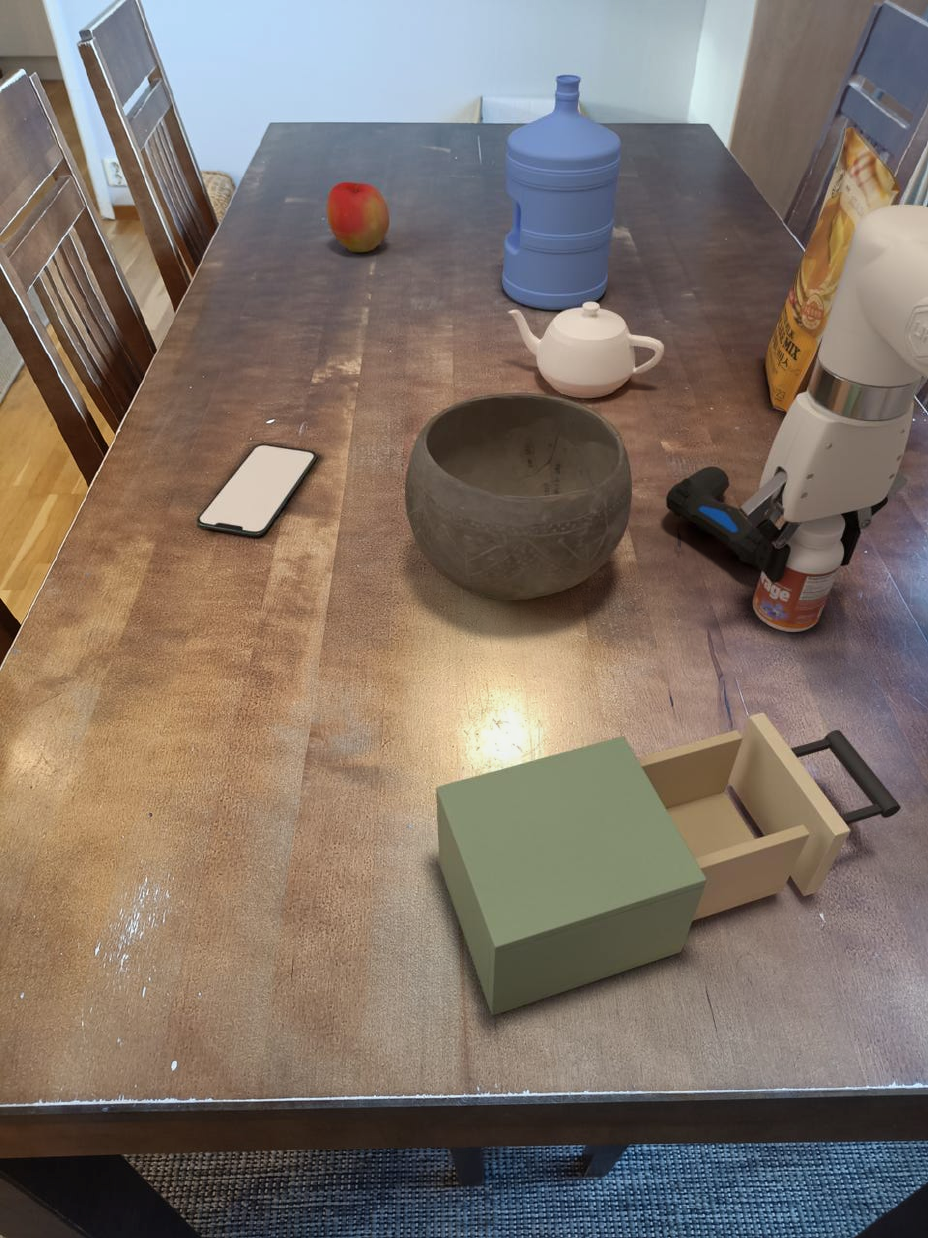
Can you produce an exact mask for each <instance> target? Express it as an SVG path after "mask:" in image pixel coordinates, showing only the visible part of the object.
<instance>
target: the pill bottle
mask: <svg viewBox="0 0 928 1238" xmlns="http://www.w3.org/2000/svg"><path fill="white" fill-rule="evenodd" d="M778 528H779V530H780V528H781V527H778ZM844 528H845V520H844V518H843V517H842V515H841V514H837V515H833V516H828V517H824V518H819V519H814V520H809V521H804V522H802V523H801V525H800V526H799V527H798V529H797V530H796V532H795V533H794V534H793V536H792V537H791V539H790V540H789V541H788V543H787V544H788V545H789V546H790V548H791V551H790V554H789V557H788V560H787V564H786V567H785V570H784V573H783V576H782V579H781V580H780V581H779V582H775V583H773V582H771V580H770V579H769V578H768V577H767V576H766V575H765V573H764V572H763V571H762V570H761V573H760V576H759V579H758V582H757V585H756V588H755V592H754V595H753V598H752V607H753V610H754V613H755V614H756V616H757V617H758V618H759V619H760V620H761V621H762V622H763V623H765V624H766V625H768V626H769V627H772V628H774V629H776V630H779V631H783V632H788V633H799V632H803V631H806V630H809V629H811V628H812V627H814V626H815V625H816V624H817V623H818V622H819V620H820V617H821V616H822V613H823V610H824V607H825V605H826V603H827V600H828V597H829V595H830V592H831V590H832V587H833V584H834V582H835V579H836V577H837V575H838V572H839V570H840V567H841V566H840V565H841V562H842V559H843V556H844V548H843V544H842V542H841V540H840V539H841V537H842V534H843V531H844Z"/></svg>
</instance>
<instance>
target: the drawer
mask: <svg viewBox="0 0 928 1238" xmlns="http://www.w3.org/2000/svg"><path fill="white" fill-rule="evenodd" d="M828 749H829V751H830V752H831V753H832V754H833V755H834V756H835V758H836V759H837V761H838V762H839V763H840V765H842V767H843V768H844V770H845V771H846V772H847V773H848V774H849V776H850V777H851V778H852V780H853V781H854V782H855V784H856V785H857V786H858V788H859V789H860V790H861V791H862V792H863V794H864V795H865V797H866V798H867V799H868V801H869V802H870V803H871V805H868V806H864V807H862V808H859V809H854V810H852V811H849V812H845V813H843V814H839V812H838V811H837V809H835V807H834V805H833V804H832V803H831V801H830V800H829V799H828V797H827V796H826V795H825V793H824V792H823V791H822V789H821V787H819V785H818V784H817V782H816V781H815V780H814V779H813V777H812V776H811V774H810V773H809V771H808V770H807V769H806V767H805V766H804V765H803V763H802V762H801V761H800V760H799V758H801V757H802V758H803V757H805V756H808V755H812V754H816V753H818V752H819V753H820V752H822V751H827V750H828ZM636 758H637V759H638V761H639V763H640V765H641V766H642V768H643V770H644V772H645V773H646V775H647V777H648V778H649V780H650V782H651V784H652V785H653V787H654V789H655V791H656V792H657V794H658V796H659V797H660V799H661V801H662V803H663V804H664V806H665V808H666V810H667V811H668V813H669V815H670V816H671V818H672V820H673V822H674V823H675V825H676V827H677V829H678V830H679V832H680V834H681V836H682V837H683V839H684V841H685V842H686V844H687V846H688V848H689V849H690V851H691V853H692V855H693V856H694V858H695V860H696V861H697V863H698V865H699V867H700V868H701V870H702V872H703V874H704V875H705V877H706V879H707V881H706V884H705V887H704V890H703V893H702V896H701V899H700V901H699V904H698V907H697V910H696V912H695V915H694V918H693V921H697V920H699V919H703V918H706V917H709V916H712V915H714V914H718V913H721V912H724V911H726V910H730V909H732V908H735V907H738V906H741V905H744V904H748V903H751V902H753V901H758V900H760V899H763V898H766V897H768V896H772V895H775V894H778V893H781V892H783V891H784V889H785V887H786V884H787V882H788V880H789V878H791V879H792V881H793V882H794V884H795V885H796V887H797V889H798V890H799V891H800V893H801V895H802V896H803V897H806V896H809V895H811V894H812V895H813V894H815V893H818V892H819V891H820V889H821V887H822V886H823V883H824V882H825V880H826V878H827V876H828V873H829V872H830V870H831V868H832V867H833V865H834V863H835V861H836V859H837V857H838V855H839V854H840V852H841V850H842V848H843V846H844V844H845V843H846V840H847V838H848V837H849V835H850V833H851V828H850V827H849V826H848V825H852V824H856V823H858V822H861V821H864V820H867V819H870V818H873V817H877V816H881V817H882V818H883V819H887V818H891V817H893V816H894V815H896V814H897V813H898V812H899V811H900V810H901V807H902V806H901V804H899V802H898V801H897V799H896V798H895V797H894V796H893V795H892V793H891V792H890V791H889V790H888V789H887V787H886V786H885V784H883V782H882V781H881V779H879V777H878V776H877V775H876V773H875V772H874V771H873V770H872V768H871V767H870V766H869V764H868V763H867V762H866V761H865V760H864V758H863V757H862V756H861V755H860V753H858V751H857V750H856V748H855V747H854V746H853V745H852V743H850V741H849V740H848V739H847V737H846V736H845V735H844V733H843V732H842V731H841V730H840V729H834V730H831V731H830V732H828V733H827V734H826V735H825V736H824V738H822V739H819V740H815V741H812V742H809V743H804V744H802V745H797V746H795V747H790V746H789V745H788V743H787V741H785V739H784V738H783V736H782V735H781V734H780V732H779V730H778V729H776V727H775V726H774V725H773V723H772V722H771V720H770V719H769V717H768V716H767V714H766V713H765V712H759V713H756V714H753V715H749V717H748V719H747V722H746V725H745V728H744V730H743V734H741V733H740V731H739V730H738V729H735V730H732V731H731V730H730V731H728V732H725V733H721V734H717V735H714V736H711V737H706V738H702V739H700V740H696V741H692V742H689V743H685V744H681V745H678V746H674V747H671V748H668V749H663V750H660V751H657V752H654V753H653V752H652V753H650V754H646V755H642V756H638V757H636ZM728 784H730V786H731V788H732V789H733V791H734V792H735V793H736V795H737V797H738V798H739V799H740V801H741V803H742V804H743V806H744V808H745V809H746V811H747V812H748V813H749V815H750V817H751V818H752V820H753V821H754V823H755V824H756V826H757V827H758V829H759V830H760V832H761V834H762V835H763V836H762V837H758V838H755V836H754V835H753V833H752V831H751V830H750V828H749V827H748V825H747V824H746V822H745V821H744V819H743V818H742V816H741V815H740V813H739V811H738V810H737V808H736V806H735V805H734V803H733V802H732V799H730V797H729V796H728V794H727V793H726V789H727V786H728Z"/></svg>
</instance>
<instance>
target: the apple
mask: <svg viewBox="0 0 928 1238" xmlns="http://www.w3.org/2000/svg"><path fill="white" fill-rule="evenodd" d="M326 215H327V222H328V225H329V228H330V230H331V232H332V235H334V237H335V238H336V240H338V242H339V243H340V244H341V245H342V246H344V247H345V248H346V249H347V250H348V251H349V252H352V253H367V252H370V251H372V250H373V249H375V248H377V247H378V246H379V245H380V243H382V241H383V240H384V239H385V237H386V235H387V234H388V231H389V226H390V213H389V209H388V205H387V203H386V201H385V198H384V196H383V195H382V193H381V192H380V191H379V190H378V189H377V188H376V187H375V186H373V185H372V184H369V183H361V182H352V181H344V182H339V183H337V184H335V185H334V186H333V187H332V188H331V190H330V191H329V194H328V197H327V204H326Z"/></svg>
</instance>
